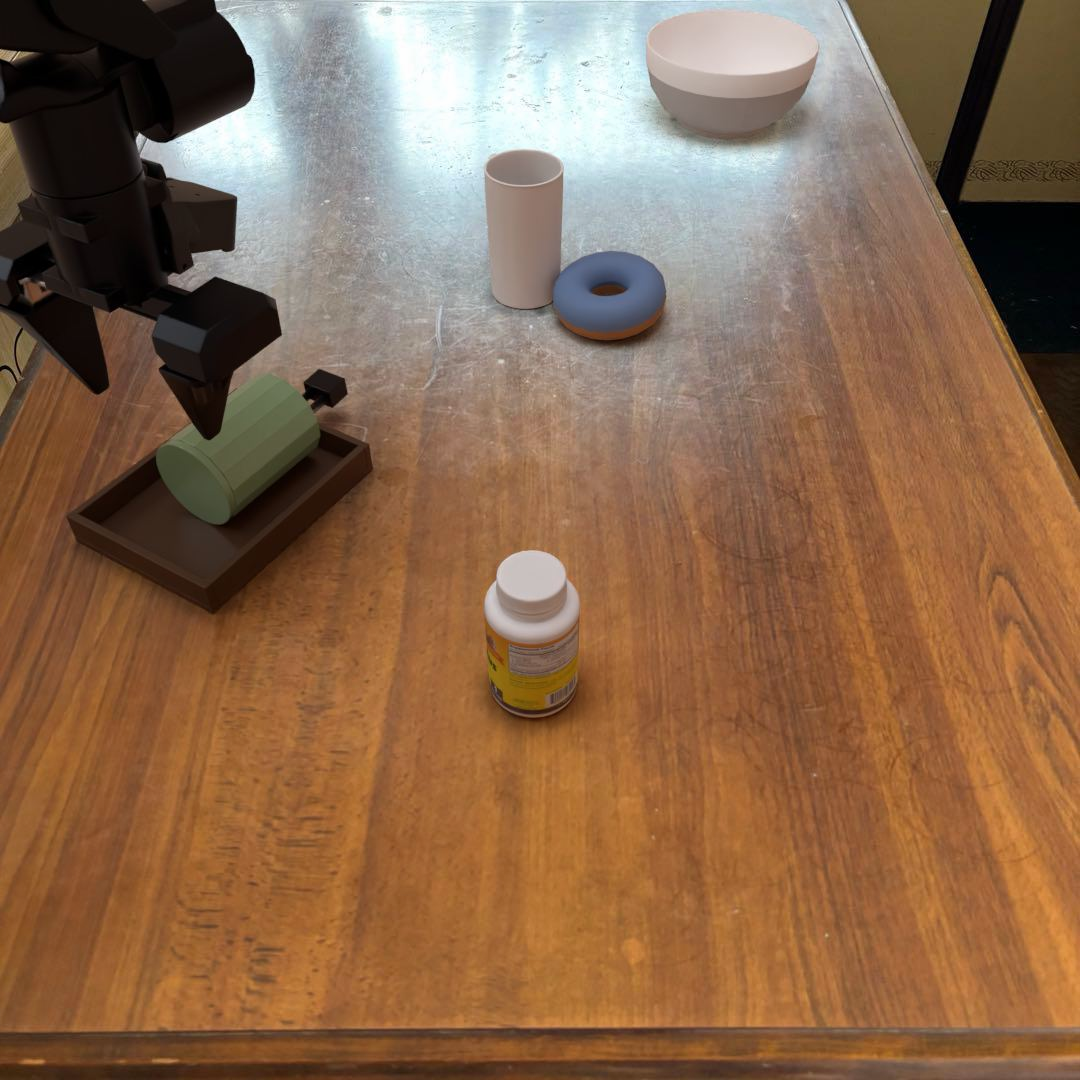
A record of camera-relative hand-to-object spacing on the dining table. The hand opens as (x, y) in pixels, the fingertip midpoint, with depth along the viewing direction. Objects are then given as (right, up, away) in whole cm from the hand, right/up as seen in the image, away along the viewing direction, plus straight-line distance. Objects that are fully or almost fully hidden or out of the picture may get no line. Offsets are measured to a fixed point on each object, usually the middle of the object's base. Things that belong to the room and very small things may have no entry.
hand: (156, 412), depth 68 cm
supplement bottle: (+23, -17, +1) cm, 29 cm away
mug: (+22, +16, +34) cm, 43 cm away
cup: (0, -4, +8) cm, 9 cm away
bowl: (+45, +41, +59) cm, 84 cm away
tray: (+1, -5, +13) cm, 14 cm away
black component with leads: (+1, -5, +11) cm, 13 cm away
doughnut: (+30, +12, +30) cm, 44 cm away
